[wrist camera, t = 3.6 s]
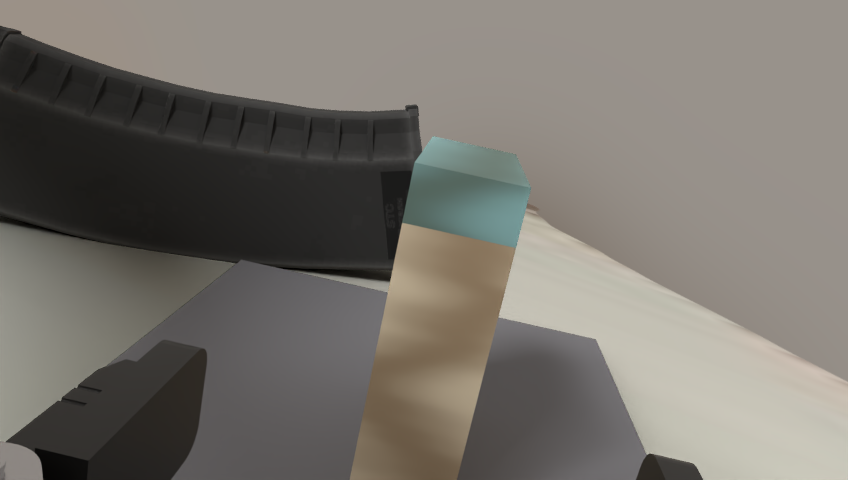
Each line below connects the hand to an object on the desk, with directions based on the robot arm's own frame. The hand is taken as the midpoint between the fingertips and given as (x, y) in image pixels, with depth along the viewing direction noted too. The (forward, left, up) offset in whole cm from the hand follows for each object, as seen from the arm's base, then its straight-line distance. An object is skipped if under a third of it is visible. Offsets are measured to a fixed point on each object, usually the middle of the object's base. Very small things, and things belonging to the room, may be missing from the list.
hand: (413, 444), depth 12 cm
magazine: (-16, +25, -7) cm, 30 cm away
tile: (0, +10, -6) cm, 11 cm away
